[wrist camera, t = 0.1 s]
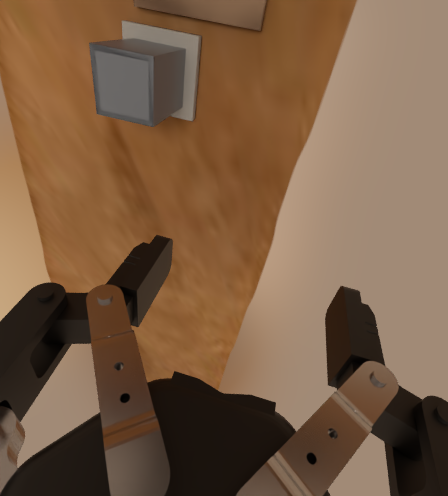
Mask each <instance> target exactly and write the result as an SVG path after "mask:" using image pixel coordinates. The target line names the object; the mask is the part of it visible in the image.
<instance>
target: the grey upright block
mask: <svg viewBox="0 0 448 496" xmlns="http://www.w3.org/2000/svg"><path fill="white" fill-rule="evenodd" d="M89 46H90V55H91V64H92V73H93V83H94V92H95V101H96V110H97V114H99V115H103V116H108V117H112V118H116V119H121V120H125V121H129V122H134V123H138V124H142V125H147V126H151V127H154V126H156V125H157V124H159V123H160V122H162V121H163V120H165V119H166V118H167V117H169V116H170V115H172V114H173V113H175V112H176V111H178V110H179V109H181V108H182V107H183V90H184V73H185V56H186V49H185V48H180V47H175V46H170V45H165V44H160V43H155V42H150V41H146V40H141V39H136V38H131V39H121V40H112V41H102V42H93V43H89Z"/></svg>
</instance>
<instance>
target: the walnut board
mask: <svg viewBox="0 0 448 496" xmlns="http://www.w3.org/2000/svg"><path fill="white" fill-rule="evenodd" d="M266 3H267V0H134V6H136V7H141V8H146V9H151V10H156V11H161V12H166V13H172V14H177V15H182V16H187V17H192V18H197V19H202V20H207V21H212V22H218V23H223V24H228V25H233V26H238V27H243V28H248V29H253V30H258V31H261V30H262V25H263V19H264V14H265V8H266Z"/></svg>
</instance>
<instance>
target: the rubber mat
mask: <svg viewBox="0 0 448 496" xmlns="http://www.w3.org/2000/svg"><path fill="white" fill-rule="evenodd" d="M122 35H123V39H131V38H136V39H141V40H146V41H150V42H155V43H160V44H165V45H170V46H175V47H180V48H185V49H186V56H185V73H184V90H183V107H182V108H181V109H179V110H178V111H176V112H175V113H173V114H172V115H170V116H172V117H176V118H181V119H185V120H189V121H193V120H194V119H195V109H196V97H197V85H198V73H199V61H200V49H201V37H202V36H200V35H195V34H190V33H185V32H180V31H175V30H170V29H165V28H160V27H155V26H150V25H145V24H140V23H135V22H130V21H122Z"/></svg>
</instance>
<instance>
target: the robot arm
mask: <svg viewBox="0 0 448 496" xmlns="http://www.w3.org/2000/svg"><path fill="white" fill-rule="evenodd" d="M172 245H173V240H172V239H170V238H166V237H163V236H159V235H156V236H155V237H154V239H153V240H152V242H151V243H150V244H148V243H144V242H143V243H141V244H140V245H138V246H136V247H135V248H134V249H133V250H132V251H131V253H130V254H129V256H127V258H126V259H125V260H124V262H123V263H122V264H121V265H120V267H119V268H118V269H117V271H116V272H115V273H114V274H113V276H112V277H111V278H110V280H109V281H108V282H107V283H106V284H105V285H100V286H97V287H95V288H93V289H92V290H91V291H90V292H89V293H66V292H65V289H64V287H63V286H62V285H60V284H57V283H43V284H40V285H37V286H35V287H33V288H32V289H31V290H30V291H29V292H28V293H27V294H26V295H25V296H24V297H23V298H22V299H21V300H20V301H19V302H18V303H17V304H16V305H15V306H14V307H13V309H12V310H11V311H10V312H9V313H8V314H7V315H6V316H5V317H4V318H3V319H2V320H1V321H0V496H330V494H329V492H328V490H327V489H328V488H329V487H330V485H331V484H332V483H333V481H334V480H335V479H336V477H337V476H338V475H339V473H340V472H341V471H342V469H343V468H344V467H345V465H346V464H347V463H348V461H349V460H350V459H351V457H352V456H353V455H354V453H355V452H356V450H357V449H358V448H359V447H360V445H361V444H362V443H363V441H364V440H365V439H366V437H367V436H368V435H369V433H370V432H371V433H372V434H374V435H375V436H377V437H378V438H380V439H381V440H383V441H384V442H385V451H386V459H387V468H388V477H389V486H390V495H391V496H448V402H447V401H445V400H443V399H442V398H439V397H436V396H427V397H425V398H424V399H423V400H422V399H420V398H419V397H417V396H415V395H414V394H412V393H410V392H408V391H407V390H405V389H403V388H402V387H401V386H399V385H398V382H397V379H396V377H395V376H394V374H393V373H392V372H391V371H390V370H389V369H388V368H387V367H386V366H385V363H384V358H383V353H382V349H381V344H380V339H379V336H378V329H377V327H376V326H377V324H376V320H375V315H374V314H373V312H372V310H371V309H370V307H369V306H368V305H366V304H363V303H362V302H361V297H360V292H359V291H358V290H355V289H351V288H347V287H344V286H341V287H340V288H339V290H338V292H337V293H336V295H335V297H334V299H333V300H332V302H331V304H330V306H329V307H328V310H327V313H326V318H325V325H326V348H327V349H326V350H327V371H328V372H327V373H328V385H329V386H332V387H335V388H337V391H336V392H334V393H333V394H332V395H331V397H329V398H328V400H327V401H326V402H325V403H324V404H323V405H322V406H321V407H320V408H319V409H318V410H317V411H316V412H315V413H314V414H313V415H312V416H311V417H310V418H309V419H308V420H307V421H306V422H305V423H304V424H303V425H302V426H301V428H300V429H299V430H298V431H297V432H296V431H295V429H294V428H293V427H292V425H291V424H290V423H289V422H288V421H287V420H286V419H285V418H284V417H283V416H281V415H280V414H279V413H277V412H275V406H276V403H275V402H272V401H269V400H266V399H262V398H259V397H256V396H253V395H244V394H224V393H221V392H219V391H218V390H216V389H215V388H213V387H211V386H210V385H208V384H206V383H205V382H203V381H202V380H200V379H198V378H195V377H192V376H188V375H185V374H182V373H179V372H175V371H174V374H173V376H172V379H171V378H166V379H158V380H154V381H151V382H148V383H147V380H146V376H145V372H144V368H143V364H142V360H141V356H140V352H139V348H138V344H137V340H136V336H135V333H134V331H133V330H132V328H131V325H132V326H136V327H139V325H140V323H141V322H142V320H143V318H144V316H145V315H146V313H147V311H148V309H149V307H150V306H151V304H152V302H153V300H154V299H155V297H156V295H157V293H158V291H159V290H160V288H161V286H162V284H163V283H164V281H165V279H166V277H167V276H168V273H169V271H170V268H171V261H172ZM87 343H88V344H89V343H91V346H92V354H93V361H94V369H95V376H96V385H97V392H98V400H99V408H100V413H98V414H97V415H95V416H93V417H92V418H90V419H89V420H87V421H86V422H84V423H83V424H81V425H80V426H78V427H76V428H75V429H74V430H72V431H70V432H69V433H67V434H66V435H64V436H62V437H61V438H59V439H58V440H57V441H55V442H53V443H52V444H50V445H49V446H47V447H46V448H44V449H42V450H41V451H39V452H38V453H36V454H35V455H33V456H32V457H30V458H29V459H28V460H27V461H25V462H24V463H23V464H22V465H21V466H20V467H19V468H17V458H18V454H19V451H20V449H21V447H22V445H23V443H24V439H25V431H24V428H23V426H22V425H21V423H20V422H21V420H22V419H23V417H24V416H25V414H26V412H27V411H28V409H29V408H30V406H31V405H32V403H33V402H34V400H35V399H36V397H37V396H38V394H39V393H40V391H41V390H42V388H43V387H44V385H45V384H46V382H47V381H48V379H49V378H50V376H51V375H52V373H53V372H54V370H55V368H56V367H57V365H58V364H59V362H60V361H61V359H62V358H63V356H64V355H65V353H66V352H67V350H68V349H69V347H70V346H71V344H87Z"/></svg>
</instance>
